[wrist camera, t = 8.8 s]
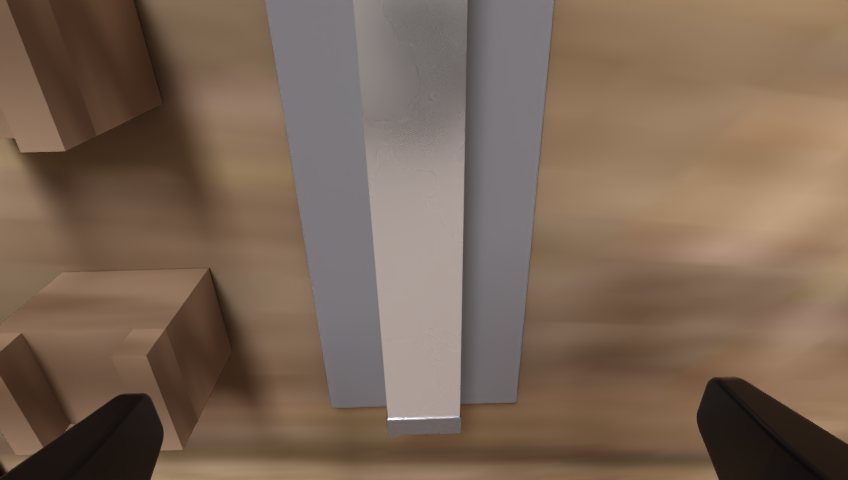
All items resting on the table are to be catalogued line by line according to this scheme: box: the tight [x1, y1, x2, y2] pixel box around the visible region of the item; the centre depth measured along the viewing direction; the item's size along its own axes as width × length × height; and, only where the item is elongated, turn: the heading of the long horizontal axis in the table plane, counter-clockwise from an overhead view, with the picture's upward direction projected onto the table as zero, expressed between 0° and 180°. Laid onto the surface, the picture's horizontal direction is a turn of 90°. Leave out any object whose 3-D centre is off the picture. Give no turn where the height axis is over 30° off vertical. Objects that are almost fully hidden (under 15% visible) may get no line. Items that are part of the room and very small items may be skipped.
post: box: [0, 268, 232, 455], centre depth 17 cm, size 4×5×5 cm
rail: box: [353, 0, 467, 435], centre depth 15 cm, size 17×3×3 cm, turn 1°
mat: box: [265, 0, 554, 408], centre depth 16 cm, size 20×8×1 cm, turn 1°
